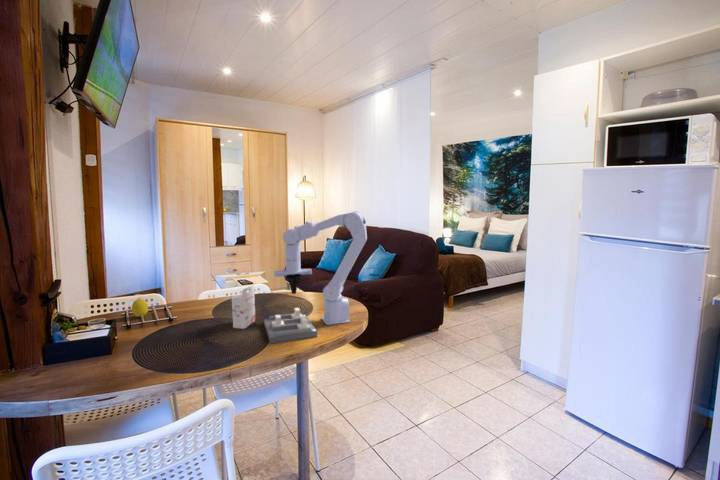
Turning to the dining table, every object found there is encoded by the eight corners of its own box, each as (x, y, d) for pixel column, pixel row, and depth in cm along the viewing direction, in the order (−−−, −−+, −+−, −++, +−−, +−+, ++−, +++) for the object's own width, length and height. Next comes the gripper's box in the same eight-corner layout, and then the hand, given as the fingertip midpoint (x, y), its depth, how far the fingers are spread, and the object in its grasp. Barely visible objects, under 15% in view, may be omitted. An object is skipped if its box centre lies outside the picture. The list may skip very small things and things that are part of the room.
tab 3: (308, 326, 127) (307, 316, 127) (310, 330, 123) (310, 319, 123) (297, 327, 126) (296, 317, 125) (299, 331, 122) (299, 321, 121)
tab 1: (283, 323, 129) (282, 313, 129) (284, 327, 126) (284, 317, 125) (271, 325, 128) (271, 315, 127) (273, 329, 124) (273, 318, 124)
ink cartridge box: (244, 320, 139) (242, 283, 137) (255, 321, 138) (254, 284, 136) (232, 328, 130) (230, 289, 128) (244, 329, 129) (243, 290, 127)
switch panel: (305, 319, 140) (305, 311, 139) (317, 336, 123) (317, 327, 123) (264, 324, 134) (263, 316, 133) (270, 343, 117) (270, 334, 117)
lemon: (151, 316, 141) (150, 297, 140) (136, 321, 137) (135, 301, 135) (144, 314, 144) (143, 295, 143) (129, 318, 139) (128, 298, 138)
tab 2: (301, 316, 137) (301, 306, 137) (303, 319, 134) (303, 310, 133) (291, 317, 136) (291, 308, 135) (293, 321, 132) (293, 311, 132)
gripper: (308, 256, 144) (309, 288, 146) (272, 258, 139) (273, 292, 141) (313, 259, 138) (313, 293, 139) (275, 262, 132) (276, 297, 134)
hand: (293, 293), depth 140 cm, fingers closed
